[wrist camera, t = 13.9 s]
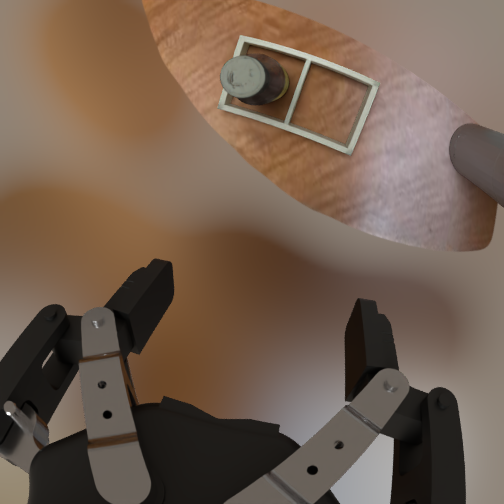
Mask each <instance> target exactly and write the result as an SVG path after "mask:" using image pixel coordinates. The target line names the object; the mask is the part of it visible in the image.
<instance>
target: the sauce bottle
mask: <svg viewBox="0 0 504 504" xmlns="http://www.w3.org/2000/svg"><path fill="white" fill-rule="evenodd" d="M220 80H221V84H222V86H223V88H224V90H225V91H226V92H227V93H228V94H230V95H231V96H233V97H236V98H238V99H239V100H240V101H242V102H244V103H246V104H249V105H263V104H267V103H270V102H272V101H275V100H277V99H279V98H281V97H282V96H283V95H284V94H285V92H286V91H287V89H288V86H289V77H288V74H287V72H286V71H285V69H284V68H283V67H282V66H281V65H280V64H279V63H278V62H277V61H276V60H274V59H273V58H271V57H269V56H266V55H264V54H249V55H242V56H236V57H234V58H232V59H230V60H229V61H227V62H226V63H225V64H224V66H223V68H222V70H221V73H220Z"/></svg>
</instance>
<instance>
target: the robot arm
mask: <svg viewBox="0 0 504 504" xmlns="http://www.w3.org/2000/svg"><path fill="white" fill-rule="evenodd" d="M450 157H451V161H452V163H453V166H454V167H455V169H456V170H457V171H458V172H459V173H460V174H461V175H463V176H464V177H466V178H467V179H468V180H470V181H471V182H472V183H473V184H475V185H476V186H477V187H479V188H480V189H481V190H483V191H484V192H485V193H486V194H488V195H489V196H490V197H491V198H493V199H494V200H495V201H496V202H498V203H499V204H500V205H501V206H502V207H504V134H502V133H500V132H497V131H494V130H491V129H488V128H485V127H483V126H480V125H477V124H465V125H462V126H461V127H459V128H458V129H457V130H456V131H455V133H454V135H453V136H452V139H451V142H450ZM173 296H174V280H173V267H172V263H171V262H170V261H164V260H160V259H153V260H152V261H151V263H150V264H149V265H148V266H147V267H146V268H144V267H142V268H140V269H138V270H136V271H135V272H133V273H132V274H131V275H130V276H129V277H128V279H127V280H126V281H125V282H124V283H123V284H122V286H121V287H120V288H119V289H118V290H117V292H116V293H115V294H114V295H113V296H112V297H111V299H110V300H109V301H108V302H107V303H106V305H105V306H104V307H97V308H93V309H91V310H89V311H87V312H86V313H85V314H84V315H83V316H72V315H67V313H66V311H65V309H64V307H63V306H61V305H57V304H53V305H48V306H46V307H44V308H43V309H42V310H41V311H40V312H39V313H38V314H37V315H36V317H35V318H34V319H33V320H32V321H31V323H30V324H29V325H28V326H27V328H26V329H25V330H24V331H23V333H22V334H21V335H20V336H19V338H18V339H17V340H16V341H15V343H14V344H13V345H12V347H11V348H10V349H9V351H8V352H7V353H6V355H5V356H4V357H3V359H2V360H1V362H0V457H2V458H4V459H6V460H7V461H8V462H10V463H11V464H13V465H15V466H18V467H20V468H21V469H23V470H24V471H25V472H27V473H28V474H29V482H30V486H29V499H28V504H340V503H339V502H338V500H337V499H336V497H335V496H334V494H333V493H332V492H331V490H330V488H331V487H332V486H333V485H334V484H335V483H336V482H337V481H338V480H339V479H340V478H341V477H342V476H343V475H344V474H345V473H346V472H347V470H348V469H349V468H350V467H351V466H352V465H353V464H354V463H355V462H356V461H357V460H358V458H359V457H360V456H361V455H362V454H363V453H364V452H365V450H366V449H367V448H368V447H369V446H370V444H371V443H372V442H373V441H374V440H375V438H376V437H377V436H378V435H379V433H381V434H384V435H386V436H389V437H392V438H394V454H393V475H392V490H391V501H390V504H466V486H465V463H464V451H463V440H462V432H461V424H460V418H459V411H458V404H457V400H456V398H455V396H454V395H453V394H452V392H450V391H449V390H447V389H446V388H442V387H438V388H434V389H432V390H431V391H430V392H429V394H428V393H425V392H423V391H420V390H417V389H414V388H412V387H411V386H409V382H408V380H407V378H406V377H405V376H404V375H403V374H402V373H401V372H400V371H399V367H398V361H397V355H396V349H395V344H394V338H393V335H392V328H391V324H390V322H389V321H388V319H387V318H386V316H385V315H384V314H378V311H377V305H376V302H375V301H373V300H367V299H361V298H358V299H357V301H356V303H355V306H354V308H353V311H352V313H351V316H350V318H349V321H348V323H347V326H346V331H345V401H348V402H351V403H350V404H349V405H348V406H347V405H346V406H345V407H343V408H342V409H341V410H340V411H339V412H338V413H337V414H336V415H335V416H334V417H333V418H332V419H331V420H330V421H329V422H328V423H327V424H326V425H325V426H324V427H323V428H322V429H321V430H319V431H318V432H317V433H316V434H315V435H314V436H313V437H312V438H311V439H309V440H308V441H307V442H306V443H305V444H304V445H303V446H300V445H298V444H297V443H296V442H295V441H294V440H292V439H291V438H289V437H287V436H286V435H284V434H282V433H279V427H280V425H278V424H272V423H267V422H262V421H256V420H252V419H218V418H215V417H213V416H211V415H209V414H208V413H205V412H204V411H202V410H200V409H198V408H196V407H195V406H193V405H191V404H188V403H185V402H181V401H178V400H175V399H172V398H169V397H165V396H164V397H163V399H162V401H161V403H145V404H140V405H139V402H138V399H137V396H136V392H135V388H134V384H133V380H132V376H131V372H130V367H129V363H128V359H127V356H128V355H129V353H130V352H133V353H136V354H140V353H141V351H142V349H143V348H144V346H145V344H146V343H147V341H148V339H149V338H150V336H151V334H152V333H153V331H154V330H155V328H156V326H157V325H158V323H159V322H160V320H161V318H162V317H163V315H164V313H165V312H166V310H167V309H168V307H169V305H170V304H171V302H172V300H173ZM51 350H52V351H53V353H52V355H51V357H50V358H49V359H48V361H47V362H46V364H45V365H44V367H43V368H42V364H43V362H44V360H45V359H46V358H47V356H48V355H49V353H50V352H51ZM78 370H79V373H80V383H81V393H82V401H83V409H84V416H85V422H86V429H84V430H82V431H79V432H77V433H75V434H73V435H70V436H68V437H66V438H63V439H61V440H58V441H56V442H54V443H51V444H49V438H48V437H49V429H48V426H47V424H48V423H49V421H50V419H51V417H52V415H53V413H54V411H55V410H56V408H57V406H58V404H59V403H60V401H61V399H62V397H63V396H64V394H65V392H66V390H67V389H68V387H69V385H70V384H71V382H72V380H73V379H74V377H75V375H76V374H77V372H78ZM48 444H49V445H48Z"/></svg>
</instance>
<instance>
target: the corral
mask: <svg viewBox="0 0 504 504" xmlns="http://www.w3.org/2000/svg"><path fill="white" fill-rule="evenodd" d="M249 45H252V46H256V47H260V48H264V49H268V50H271V51H275V52H278V53H282V54H285V55H288V56H292V57H295V58H298V59H301V60H304V61H306V63H305V65H304V68H303V71H302V74H301V76H300V79H299V82H298V85H297V88H296V90H295V93H294V96H293V99H292V102H291V105H290V107H289V110H288V113H287V116H286V119H285V121H284V120H281V119H278V118H275V117H272V116H269V115H266V114H263V113H260V112H257V111H254V110H251V109H247V108H244V107H241V106H237V105H234V104H231V101H232V97H233V96H231V95H230V94H228V93H227V92H226V91H225V90H224V88H223V91H222V94H221V98H220V101H219V104H218V109H221V110H225V111H228V112H232V113H235V114H238V115H242V116H245V117H248V118H251V119H255V120H258V121H261V122H264V123H267V124H270V125H273V126H276V127H279V128H281V129H284V130H287V131H290V132H293V133H295V134H298V135H301V136H303V137H306V138H309V139H311V140H314V141H316V142H319V143H321V144H324V145H326V146H329V147H331V148H334V149H336V150H338V151H341V152H343V153H346V154H348V155H350V156H351V154H352V152H353V149H354V147H355V145H356V142H357V140H358V137H359V135H360V132H361V130H362V128H363V125H364V123H365V120H366V118H367V115H368V113H369V110H370V108H371V105H372V103H373V100H374V98H375V95H376V92H377V90H378V87H379V85H380V83H379V82H377V81H375V80H372V79H370V78H368V77H366V76H364V75H361V74H359V73H357V72H354V71H352V70H350V69H347V68H345V67H342V66H340V65H337V64H335V63H332V62H329V61H327V60H324V59H321V58H319V57H316V56H313V55H310V54H307V53H304V52H301V51H298V50H295V49H291V48H288V47H285V46H281V45H278V44H274V43H270V42H267V41H263V40H259V39H255V38H251V37H246V36H242V35H240V38H239V41H238V44H237V47H236V50H235V53H234V56H233V58H234V57H236V56H242V55H246V54H247V51H248V48H249ZM311 63H313V64H316V65H318V66H321V67H324V68H327V69H329V70H332V71H334V72H337V73H339V74H342V75H344V76H347V77H349V78H352V79H354V80H356V81H359V82H361V83H363V84H365V85H368V89H367V91H366V94H365V97H364V99H363V102H362V104H361V107H360V109H359V112H358V114H357V117H356V119H355V122H354V124H353V127H352V129H351V132H350V134H349V137H348V139H347V142H346V144H343V143H341V142H339V141H336V140H334V139H332V138H329V137H327V136H324V135H322V134H319V133H317V132H314V131H311V130H309V129H306V128H303V127H301V126H298V125H295V124H293V123H290V121H291V118H292V115H293V113H294V110H295V107H296V104H297V102H298V99H299V96H300V93H301V90H302V88H303V85H304V82H305V79H306V77H307V74H308V71H309V68H310V65H311Z"/></svg>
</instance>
